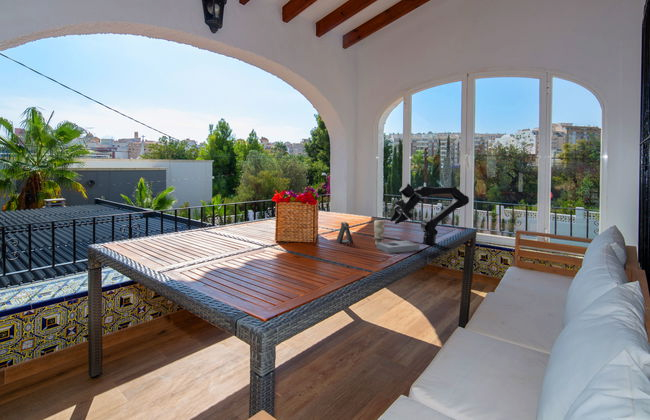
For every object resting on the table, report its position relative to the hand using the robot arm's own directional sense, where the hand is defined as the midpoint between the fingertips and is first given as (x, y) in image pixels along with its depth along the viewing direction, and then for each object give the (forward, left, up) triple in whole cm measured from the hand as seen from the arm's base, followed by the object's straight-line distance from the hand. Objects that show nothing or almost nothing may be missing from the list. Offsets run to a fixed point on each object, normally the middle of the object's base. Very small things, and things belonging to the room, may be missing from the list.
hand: (392, 222), depth 207 cm
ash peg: (+8, -3, -13) cm, 15 cm away
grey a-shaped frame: (+24, -16, -13) cm, 31 cm away
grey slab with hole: (+4, +11, -13) cm, 18 cm away
